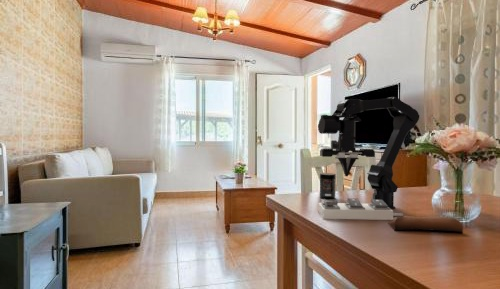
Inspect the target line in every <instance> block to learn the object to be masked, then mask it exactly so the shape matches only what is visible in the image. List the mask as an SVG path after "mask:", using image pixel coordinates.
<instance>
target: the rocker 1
mask: <svg viewBox="0 0 500 289" xmlns="http://www.w3.org/2000/svg"><path fill="white" fill-rule="evenodd" d="M323 203H324V204H326V205H338V203H339V202H338V201H334V200H333V201H331V200H328V201H327V200H326V201H323Z"/></svg>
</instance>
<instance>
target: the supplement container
mask: <svg viewBox="0 0 500 289" xmlns="http://www.w3.org/2000/svg"><path fill="white" fill-rule="evenodd" d="M336 178H337V176H336V173H333V172H321V173H319V197H320V199H323V200H324V199H325V200H333V199H335V198H336V180H337V179H336Z"/></svg>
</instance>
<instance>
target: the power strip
mask: <svg viewBox="0 0 500 289" xmlns="http://www.w3.org/2000/svg"><path fill="white" fill-rule="evenodd" d="M337 203H338V205H326V204H324V202H318V205H317V208H318V210H317V211H318V213H319V215H320V216H321V218H322V219H323V220H324V219H325V220H326V219H327V220H371V221H374V220H375V221H376V220H377V221H383V220H384V221H394V217H402V216H404V213H402V212H394V210H393V209H392V208H389V207H388V208H376V207H375V206H374V205H373V204H372V203H361V204H362V208H351V207H350V205H349V203H348V202H347V203H345V202H337Z"/></svg>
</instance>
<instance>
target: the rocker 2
mask: <svg viewBox="0 0 500 289" xmlns="http://www.w3.org/2000/svg"><path fill="white" fill-rule="evenodd" d="M370 202H371V203H370V204H373V205H374V206H375V207H376V208H388V205H387V204H386V203H385V202H384V201H383V200H375V199H373V198H371V200H370Z"/></svg>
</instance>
